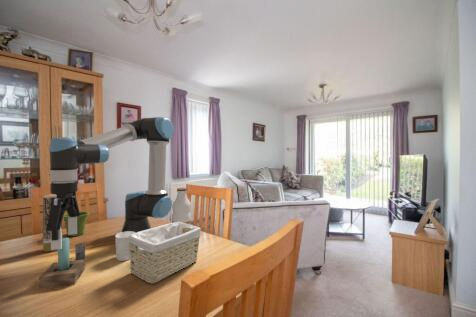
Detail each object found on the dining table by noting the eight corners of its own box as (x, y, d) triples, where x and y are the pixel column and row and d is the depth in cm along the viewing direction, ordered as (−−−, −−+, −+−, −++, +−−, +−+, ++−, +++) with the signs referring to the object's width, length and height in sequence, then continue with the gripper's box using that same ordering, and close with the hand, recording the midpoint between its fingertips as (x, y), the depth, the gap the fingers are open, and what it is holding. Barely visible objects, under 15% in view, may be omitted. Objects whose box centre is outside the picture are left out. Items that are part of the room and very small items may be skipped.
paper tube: (51, 253, 98) (51, 197, 98) (38, 251, 100) (39, 196, 99) (65, 247, 105) (66, 194, 105) (54, 245, 106) (54, 193, 106)
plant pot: (93, 233, 123) (93, 213, 123) (67, 240, 113) (67, 218, 113) (83, 229, 129) (83, 210, 129) (58, 235, 119) (58, 214, 119)
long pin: (71, 275, 81) (70, 237, 81) (67, 280, 78) (67, 240, 77) (60, 276, 80) (60, 238, 80) (56, 281, 77) (56, 241, 76)
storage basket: (176, 251, 102) (177, 219, 102) (202, 261, 93) (202, 226, 93) (125, 273, 83) (126, 234, 82) (151, 289, 73) (152, 245, 73)
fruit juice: (185, 248, 105) (186, 190, 105) (167, 246, 107) (168, 189, 107) (193, 241, 115) (194, 187, 114) (176, 239, 117) (177, 186, 116)
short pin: (85, 259, 93) (86, 242, 93) (83, 262, 90) (83, 245, 90) (77, 260, 92) (77, 243, 92) (74, 263, 89) (74, 246, 89)
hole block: (84, 269, 85) (84, 259, 85) (74, 284, 75) (75, 272, 75) (53, 273, 82) (53, 262, 82) (38, 289, 72) (38, 277, 72)
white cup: (114, 263, 90) (114, 238, 90) (115, 255, 97) (115, 232, 97) (135, 259, 94) (136, 235, 94) (135, 252, 101) (135, 230, 101)
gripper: (66, 177, 89) (67, 230, 89) (30, 187, 65) (32, 258, 66) (88, 177, 91) (88, 228, 92) (61, 186, 67) (62, 255, 68)
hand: (65, 241), depth 79 cm, fingers open, 13 cm apart
